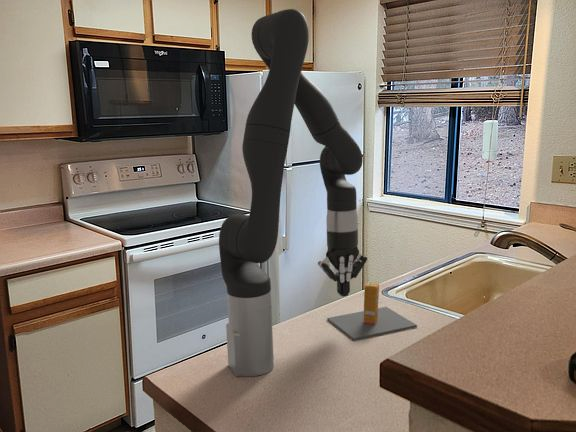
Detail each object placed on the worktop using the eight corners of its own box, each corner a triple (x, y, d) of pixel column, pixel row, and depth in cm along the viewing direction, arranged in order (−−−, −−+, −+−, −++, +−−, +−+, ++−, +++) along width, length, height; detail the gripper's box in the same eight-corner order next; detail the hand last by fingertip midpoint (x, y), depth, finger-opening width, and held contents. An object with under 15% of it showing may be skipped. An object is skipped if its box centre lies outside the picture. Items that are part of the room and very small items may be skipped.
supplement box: (376, 324, 133) (377, 286, 131) (363, 323, 134) (363, 285, 132) (378, 319, 136) (379, 282, 134) (365, 318, 137) (365, 281, 135)
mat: (353, 340, 126) (353, 338, 125) (327, 320, 138) (327, 317, 138) (416, 327, 132) (416, 324, 132) (386, 308, 145) (386, 306, 145)
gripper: (358, 221, 133) (359, 286, 137) (310, 227, 128) (312, 295, 132) (374, 226, 126) (374, 295, 130) (324, 233, 121) (326, 305, 125)
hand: (343, 295), depth 131 cm, fingers closed
